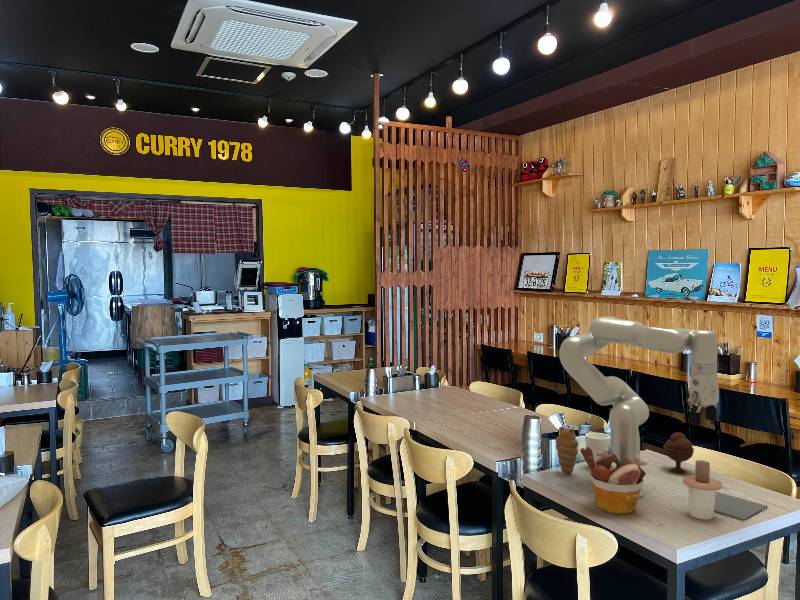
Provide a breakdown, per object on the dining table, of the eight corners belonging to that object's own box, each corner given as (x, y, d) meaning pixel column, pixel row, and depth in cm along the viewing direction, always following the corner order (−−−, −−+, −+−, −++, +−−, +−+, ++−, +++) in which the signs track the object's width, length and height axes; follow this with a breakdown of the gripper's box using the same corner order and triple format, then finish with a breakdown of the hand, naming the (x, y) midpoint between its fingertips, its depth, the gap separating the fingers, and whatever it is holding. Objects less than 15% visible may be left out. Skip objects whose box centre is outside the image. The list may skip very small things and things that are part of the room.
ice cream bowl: (656, 469, 231) (657, 431, 231) (676, 465, 236) (677, 428, 235) (679, 477, 221) (680, 438, 221) (700, 473, 226) (701, 435, 226)
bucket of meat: (637, 500, 199) (638, 441, 198) (653, 519, 182) (655, 456, 182) (576, 497, 201) (577, 439, 200) (587, 516, 184) (588, 453, 184)
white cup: (685, 516, 185) (686, 485, 185) (689, 508, 192) (690, 478, 191) (713, 522, 181) (714, 490, 180) (716, 514, 187) (717, 483, 187)
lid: (712, 493, 178) (712, 470, 178) (676, 483, 187) (676, 461, 186) (728, 485, 185) (728, 463, 185) (693, 476, 194) (693, 454, 193)
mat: (743, 521, 182) (743, 519, 182) (691, 505, 195) (691, 503, 194) (767, 507, 193) (767, 505, 193) (717, 493, 205) (717, 491, 205)
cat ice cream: (551, 473, 226) (552, 426, 225) (562, 469, 231) (563, 423, 230) (571, 479, 219) (572, 431, 219) (583, 474, 225) (583, 427, 224)
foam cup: (602, 474, 225) (602, 440, 225) (580, 468, 232) (580, 435, 232) (614, 468, 232) (614, 436, 231) (592, 463, 239) (593, 431, 238)
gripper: (701, 372, 180) (701, 428, 181) (729, 368, 190) (728, 420, 191) (678, 369, 186) (677, 423, 187) (705, 365, 197) (704, 416, 197)
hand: (703, 422), depth 189 cm, fingers open, 9 cm apart
